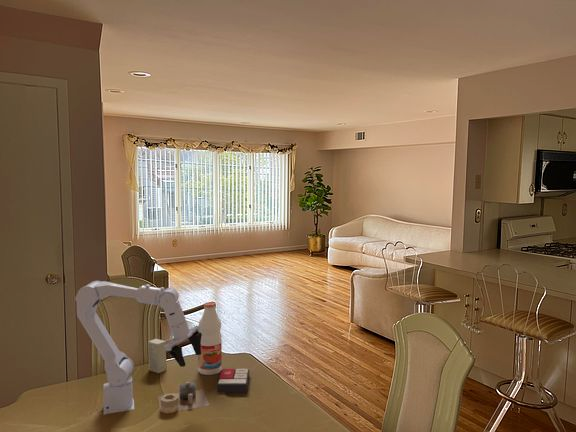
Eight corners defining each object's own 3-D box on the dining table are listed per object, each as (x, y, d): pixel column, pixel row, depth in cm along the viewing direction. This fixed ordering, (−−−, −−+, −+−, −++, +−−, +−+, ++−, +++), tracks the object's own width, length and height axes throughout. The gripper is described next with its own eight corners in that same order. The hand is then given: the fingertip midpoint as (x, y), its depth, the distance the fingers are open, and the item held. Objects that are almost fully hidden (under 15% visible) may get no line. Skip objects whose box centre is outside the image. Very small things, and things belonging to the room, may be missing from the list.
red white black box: (249, 367, 173) (247, 382, 158) (249, 378, 173) (246, 394, 158) (221, 367, 172) (216, 382, 157) (221, 378, 172) (216, 394, 157)
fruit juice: (213, 364, 183) (213, 299, 182) (226, 371, 177) (226, 303, 175) (193, 370, 177) (193, 303, 175) (206, 377, 170) (206, 307, 168)
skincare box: (167, 370, 177) (166, 341, 176) (158, 373, 173) (158, 344, 173) (156, 366, 180) (156, 338, 180) (147, 370, 177) (147, 341, 176)
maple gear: (161, 414, 141) (161, 402, 141) (160, 406, 146) (160, 395, 146) (179, 411, 143) (178, 399, 143) (176, 403, 148) (176, 392, 148)
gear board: (161, 415, 141) (160, 399, 141) (157, 397, 153) (157, 382, 153) (209, 407, 147) (209, 391, 147) (202, 390, 159) (202, 375, 159)
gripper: (169, 332, 138) (183, 371, 139) (200, 313, 150) (213, 349, 151) (155, 333, 142) (169, 371, 143) (187, 314, 154) (199, 349, 155)
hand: (191, 360), depth 148 cm, fingers open, 7 cm apart
